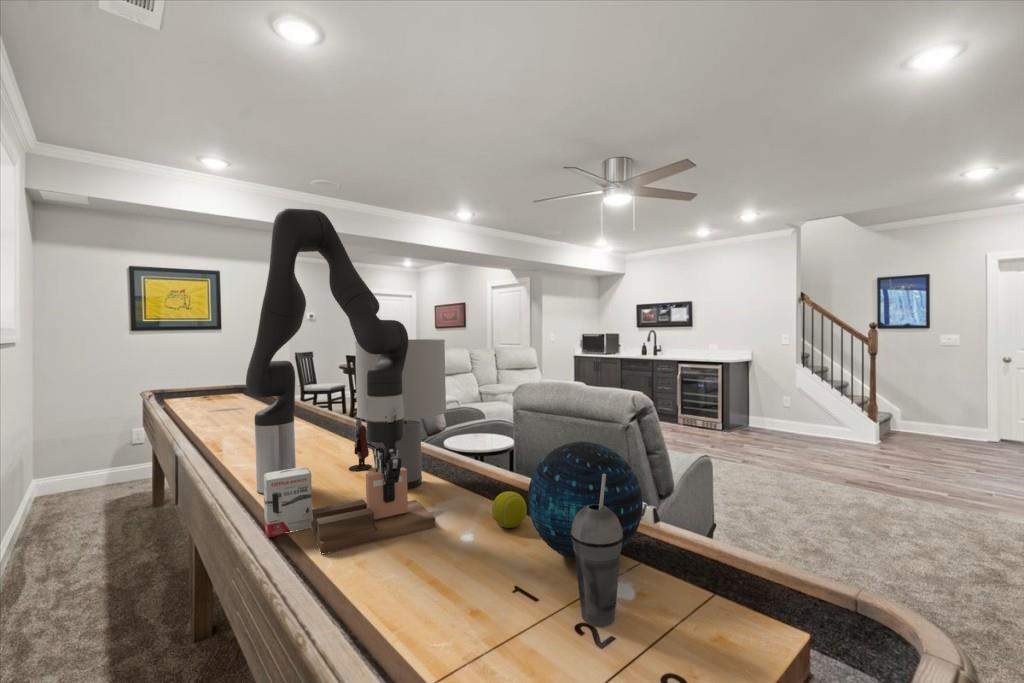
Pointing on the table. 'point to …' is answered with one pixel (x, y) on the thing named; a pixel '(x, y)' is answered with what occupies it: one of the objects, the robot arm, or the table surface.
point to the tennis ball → (509, 509)
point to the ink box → (287, 501)
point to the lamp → (410, 396)
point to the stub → (376, 495)
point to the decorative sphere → (581, 492)
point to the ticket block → (364, 524)
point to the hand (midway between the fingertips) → (387, 499)
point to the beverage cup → (597, 560)
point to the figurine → (361, 447)
